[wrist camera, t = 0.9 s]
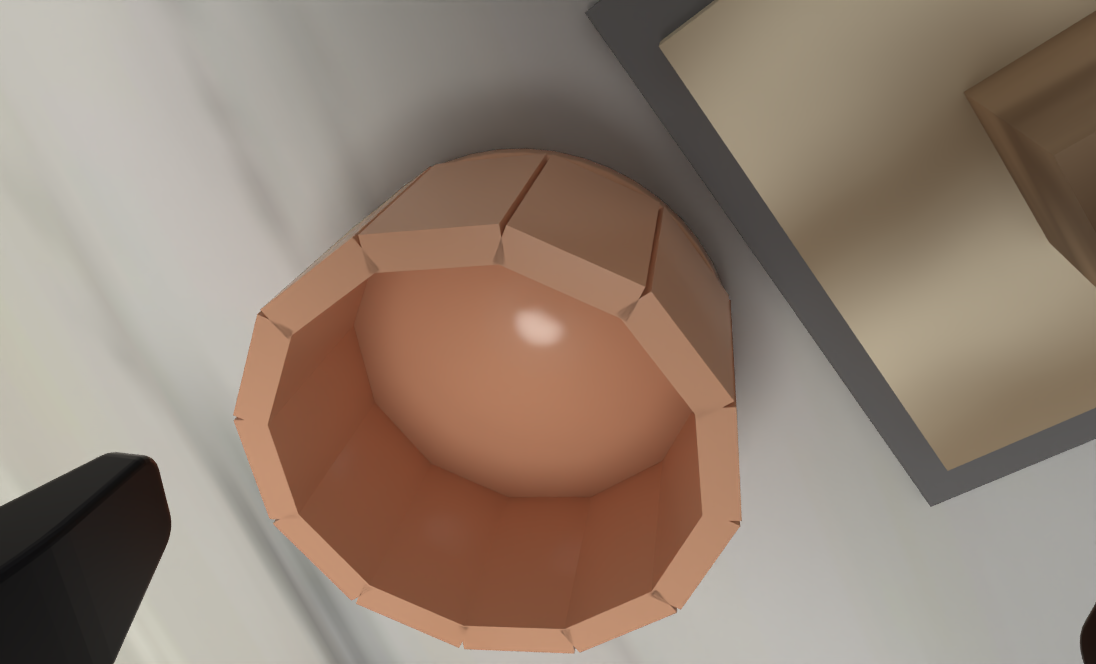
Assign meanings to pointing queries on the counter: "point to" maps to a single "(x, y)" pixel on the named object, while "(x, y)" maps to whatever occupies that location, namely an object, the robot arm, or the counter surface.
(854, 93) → the lid
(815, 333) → the mat
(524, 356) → the bowl
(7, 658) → the robot arm
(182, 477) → the counter surface
